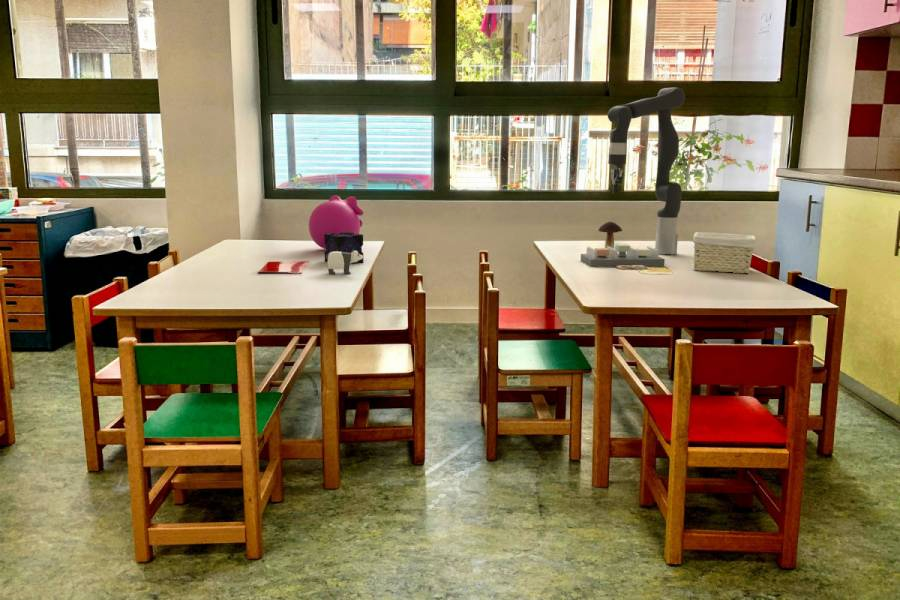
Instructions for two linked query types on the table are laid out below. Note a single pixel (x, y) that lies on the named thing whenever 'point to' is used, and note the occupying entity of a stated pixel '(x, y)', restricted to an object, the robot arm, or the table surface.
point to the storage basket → (723, 252)
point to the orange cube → (602, 252)
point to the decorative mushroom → (610, 232)
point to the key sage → (622, 249)
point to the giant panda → (342, 261)
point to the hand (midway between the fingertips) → (615, 193)
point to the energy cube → (343, 243)
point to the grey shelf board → (622, 258)
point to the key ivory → (643, 252)
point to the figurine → (334, 218)
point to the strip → (631, 267)
